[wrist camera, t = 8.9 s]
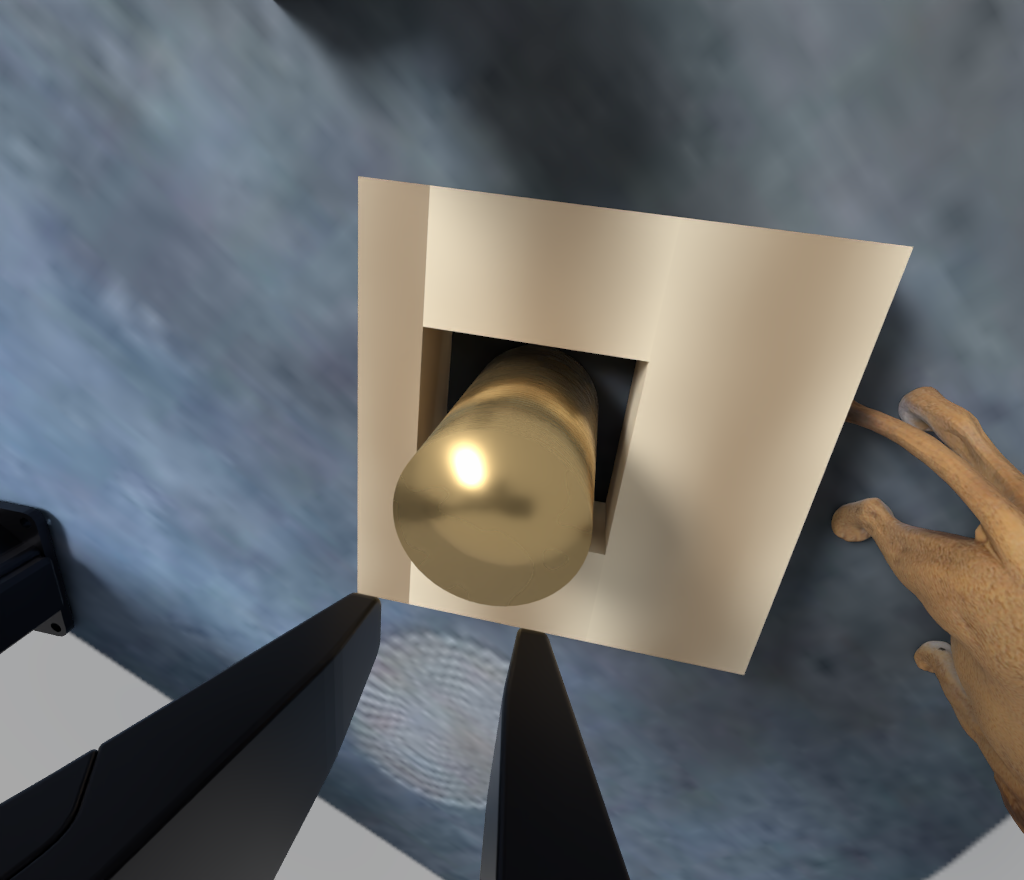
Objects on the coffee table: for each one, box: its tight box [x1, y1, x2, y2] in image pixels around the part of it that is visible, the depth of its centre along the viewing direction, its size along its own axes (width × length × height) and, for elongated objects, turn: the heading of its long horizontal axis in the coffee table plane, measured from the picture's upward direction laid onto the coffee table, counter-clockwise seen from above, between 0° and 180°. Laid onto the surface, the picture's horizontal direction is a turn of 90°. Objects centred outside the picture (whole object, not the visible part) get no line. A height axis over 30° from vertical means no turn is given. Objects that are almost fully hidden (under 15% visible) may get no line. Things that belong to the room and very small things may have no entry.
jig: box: [358, 176, 913, 675], centre depth 15 cm, size 12×12×3 cm
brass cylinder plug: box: [393, 345, 599, 606], centre depth 14 cm, size 4×4×7 cm
